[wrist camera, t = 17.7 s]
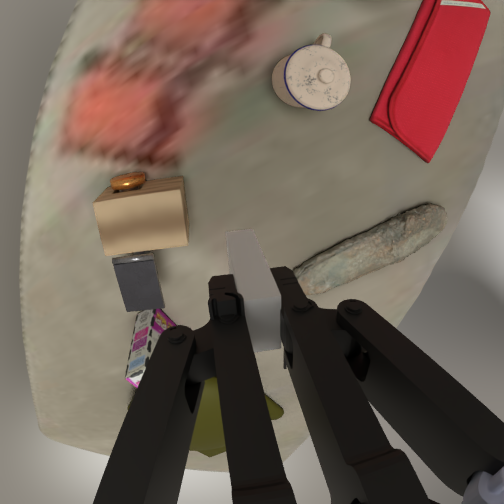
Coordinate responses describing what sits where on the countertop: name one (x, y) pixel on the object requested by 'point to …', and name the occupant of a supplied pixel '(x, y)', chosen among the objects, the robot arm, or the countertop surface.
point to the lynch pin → (129, 188)
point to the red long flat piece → (431, 73)
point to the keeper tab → (139, 282)
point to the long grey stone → (372, 249)
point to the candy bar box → (145, 342)
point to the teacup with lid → (312, 76)
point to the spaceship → (216, 421)
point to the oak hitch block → (143, 217)
